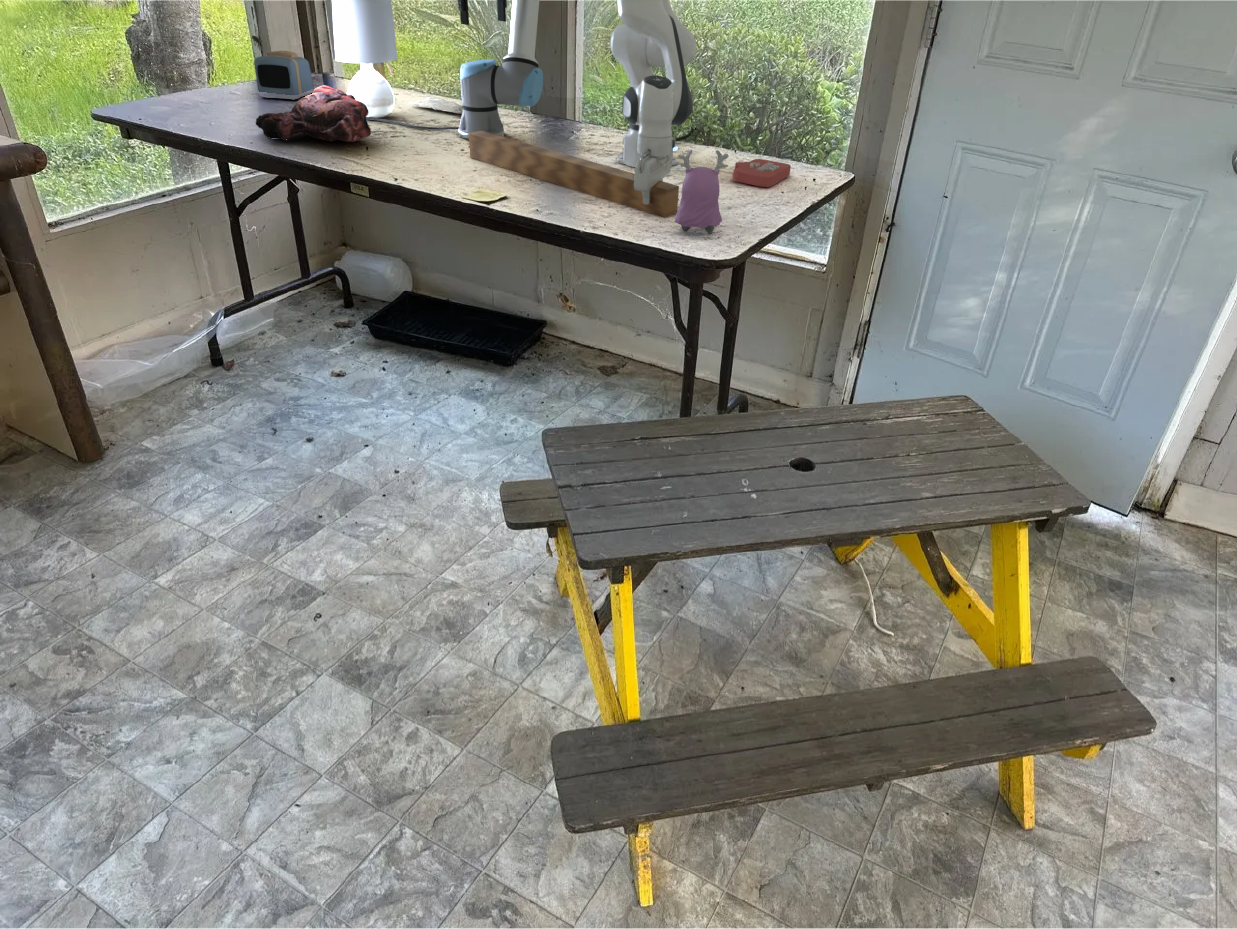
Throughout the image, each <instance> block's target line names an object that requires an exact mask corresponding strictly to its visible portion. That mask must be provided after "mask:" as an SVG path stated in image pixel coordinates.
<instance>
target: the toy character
mask: <svg viewBox="0 0 1237 929" xmlns="http://www.w3.org/2000/svg"><path fill="white" fill-rule="evenodd" d="M692 154H693V149H690V150H689V151H687V152H686V154H685V155H684V154H677V157H678V159H680V160H682V161H683V162H679V163H678V165H679V166H680V167H681V168H682V167H683V168H685V176H684V179H683V183H682V187H681V198H680V202H679V204H678V205H679V206H678V209H677V214H675V217H674V223H676V224H678V225H680V227H681V230H682V231H683V232H684V233H686V232H687V231H689V230H690V229H691V228H699V229H704V230H705V232H707V234H711V233H713V231H714V228H716V227H718V226H721V223H722V222H723V218H722V215H721V212H720V203H719V197H720V181H719V174H720V169H723V168H728V166H729V165H728V164H724V161H725V160H726V159H728V158H730V157H729V156H730V155H729V154H728V153H723V154H722V153H721V151H720V150H718V149H716V150H715V154H716V157H717V160H716V165H715V167H714V168H713V169H712V168H711V167H707V166H695V167H691V164H690V157H691V155H692Z"/></svg>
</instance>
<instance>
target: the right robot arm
mask: <svg viewBox="0 0 1237 929" xmlns="http://www.w3.org/2000/svg"><path fill="white" fill-rule="evenodd" d="M616 2H617V3H616V4H617V6H616V7H617V13H618V16H619V19H620V21H621V22H622V23H620V24H618V25H617V26H616V27H615V28H614V29H613V31H612V33H611V36H610V40H609V47H610V51H611V54H612V56H613V57H614V59H615V60H616V61H617V62H619V64H620V65H621V66H622V68H623V69H624V71H625V73H626V75H627V78H628V81H629V85H630V87H629V88H628V89H626V91H625V92H624V94H623V95H622V102H621V103H622V105H621V106H622V108H621V111H622V116H623V117H624V119H625V120H626V121H627V122H628V126H629V129H628V131H627V132H625V134H624V135H623V137H622V145H623V147H622V152H621V153H620V155H619V156H618V157H617V159H616V163H617V164H621V165H622V164H623V165H626V166H628V167H632V168H634V174H635V176H634V189H635V190H636V191H641V192H642V196H643V204H647V205H648V204H649V203H650V202H651V196H650V191H651V188H652V187H653V186H654V185H656V184H657V183H658V182H659V181H663V180H664V178H666V177H667V176H668V175H670V172H671V170H672V166H676V165H678V160H677V159H676V158H675V157H674V152H675V151H677V150H678V148H679V147H678V146H676V143H677V142H679V141H683V140H686V139H688V138H690V137H691V135H692V133H693V132H694V131H698V129H697V128H698V127H696V128H695V129H692V128H691V129H690V130H689V131H688V133H687V134H685V135H683V136H679V137H676V138H673V129H672V126H682V125H683V124H685V122H686V121H687V120H688V119H689V118H690V116H691V115H692V113H693V107H694V102H693V95H692V93H691V89H690V86H689V83H688V78H687V73H686V68H685V67H687V66H689V65H690V64H691V62H692V61H693V59H694V57H695V55H696V50H697V44H696V43H697V42H696V38H695V35H694V34H693V32H692V31H691V30H690V29H688V28H687V27H686V25H684V24H683V23H682V22H681V21H680V20H679V18H678V16H677V15H676V14H675V11H674V10H673V8H672V5H671V3H670V0H616ZM653 67H655V68H657V67H658V68H665V74H666V76H663V75H656V74H655V73H654V72H655V71H654V68H653ZM663 182H664V181H663Z"/></svg>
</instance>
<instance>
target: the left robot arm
mask: <svg viewBox="0 0 1237 929" xmlns="http://www.w3.org/2000/svg"><path fill="white" fill-rule="evenodd" d="M507 1H508V0H496V9H497V22H505V23H506V22H507V12H506V8H507V7H508V2H507ZM539 8H540V0H512V1H511V16H510V28H509V38H508V39H509V40H508V52H507V54H506V55H505V56H504V57H503V58H502V65H497V62H496V60H495V59H491V58H490V59H487V58H486V59H477V60H471V61H467V62H464V63H463V64H461V66H460V69H459V73H460V78H459V80H460V91H461V106H463V113H462V114H461V118H460V121H459V126H441V127H439V126H423V125H417V124H411V123H406V122H402V121H396V120H393V119H385V118H370V117H366V119H367V121H378V122H384V123H390V124H395V125H401V126H406V127H410V128H415V129H420V130H421V129H422V130H435V131H447V130H448V131H449V130H458V136H459V137H460V138H462V139H465V140H469V133H472V132H477V131H485V132H488V133H492V134H495V135H499V136H502V137H505V128H504V123H503V122H502V119H501V117H500V114H499V108H498V105H504V106H505V105H506V106H517V107H522V108H523V107H534V106H536V105H537V104H538V102H539V101H540V100H541V96H542V93H543V88H544V73H543V70H542V69H541V68H540V67H539V62H538V61H537V59H536V56H535V55H536V45H537V34H538V33H537V32H538V22H539V10H540V9H539ZM457 9H458V12H459V13H460V14H459V15H460V16H459V17H460V25H465V26H470V14H469V0H457Z"/></svg>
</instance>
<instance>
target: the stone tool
mask: <svg viewBox="0 0 1237 929" xmlns="http://www.w3.org/2000/svg"><path fill="white" fill-rule="evenodd" d="M408 104H409V105H411V106H414V107H421V108H426V109H427V108H428V109H432V110H434V111H441V112H448V113H453V114H457V115H462V113H463V106H462V104H459V103H457V102H452V101H448V100H445V99H443V98H436V97H433V96H426V97H425V99H422V100H414V101H408Z"/></svg>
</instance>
